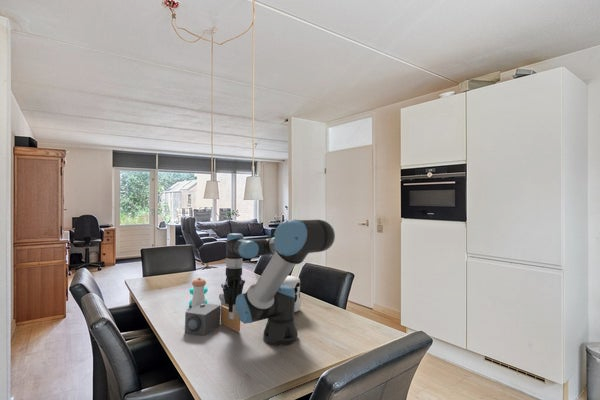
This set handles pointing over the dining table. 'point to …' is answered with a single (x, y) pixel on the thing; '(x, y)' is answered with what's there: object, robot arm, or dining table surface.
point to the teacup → (223, 300)
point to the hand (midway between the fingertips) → (232, 318)
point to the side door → (227, 321)
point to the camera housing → (202, 318)
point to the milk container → (295, 284)
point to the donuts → (192, 294)
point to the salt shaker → (198, 292)
